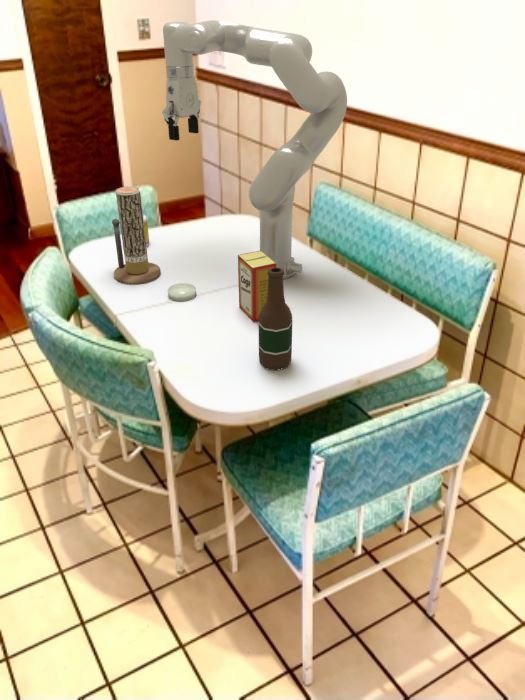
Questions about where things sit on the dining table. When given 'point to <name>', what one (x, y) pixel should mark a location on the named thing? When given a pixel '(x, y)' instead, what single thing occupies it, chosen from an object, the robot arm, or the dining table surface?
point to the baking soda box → (253, 282)
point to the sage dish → (182, 292)
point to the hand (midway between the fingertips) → (184, 136)
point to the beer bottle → (275, 325)
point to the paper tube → (132, 229)
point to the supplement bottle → (146, 229)
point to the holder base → (121, 272)
